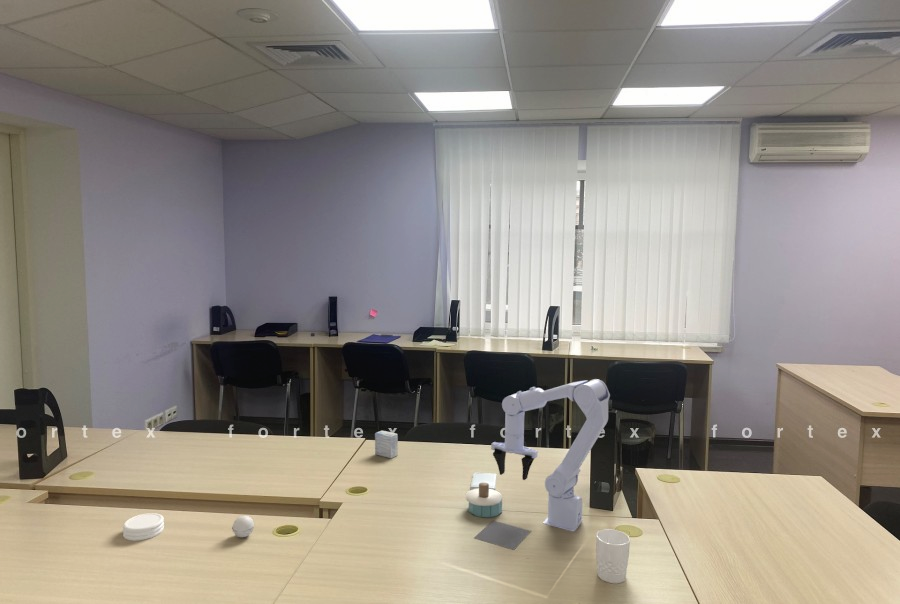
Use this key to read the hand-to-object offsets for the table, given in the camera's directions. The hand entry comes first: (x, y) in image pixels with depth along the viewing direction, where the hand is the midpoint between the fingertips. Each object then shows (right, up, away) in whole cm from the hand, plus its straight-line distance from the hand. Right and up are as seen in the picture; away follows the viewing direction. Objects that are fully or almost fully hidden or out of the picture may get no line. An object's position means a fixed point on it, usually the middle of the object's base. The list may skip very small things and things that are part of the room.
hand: (513, 476), depth 176 cm
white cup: (+20, -14, -36) cm, 43 cm away
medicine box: (-44, -6, +45) cm, 63 cm away
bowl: (-9, -10, -2) cm, 14 cm away
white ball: (-76, -11, -20) cm, 79 cm away
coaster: (-104, -11, -17) cm, 106 cm away
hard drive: (-8, -9, +19) cm, 23 cm away
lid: (-9, -6, -3) cm, 11 cm away
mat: (-5, -11, -17) cm, 21 cm away
